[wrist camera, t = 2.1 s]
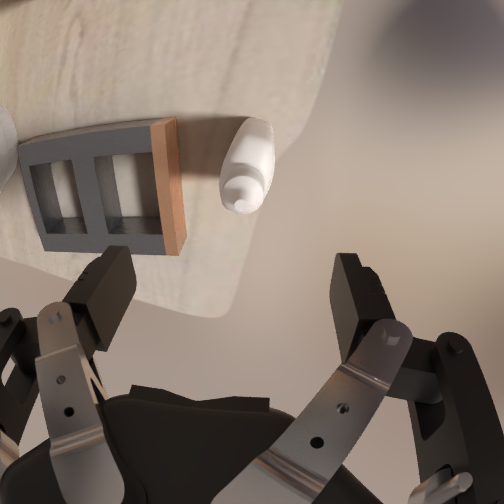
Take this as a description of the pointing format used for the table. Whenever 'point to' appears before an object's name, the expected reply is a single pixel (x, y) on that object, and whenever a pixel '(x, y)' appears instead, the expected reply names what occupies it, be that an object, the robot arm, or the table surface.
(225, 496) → the robot arm
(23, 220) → the table surface
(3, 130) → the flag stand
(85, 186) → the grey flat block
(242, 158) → the eye dropper bottle
